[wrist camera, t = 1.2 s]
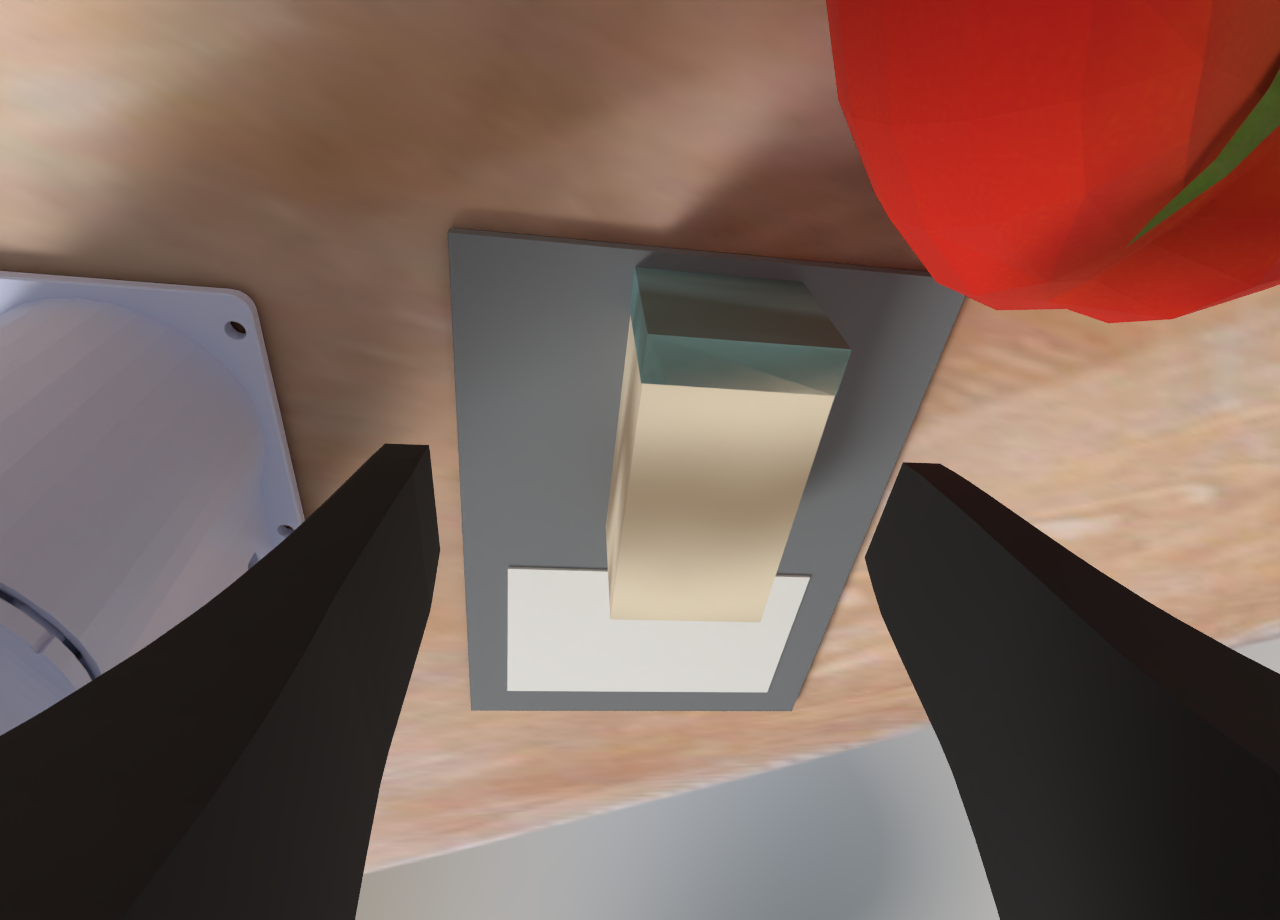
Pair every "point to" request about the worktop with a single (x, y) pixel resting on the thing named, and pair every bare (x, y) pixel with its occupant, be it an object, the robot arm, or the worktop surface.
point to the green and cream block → (714, 441)
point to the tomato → (1072, 146)
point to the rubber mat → (583, 461)
